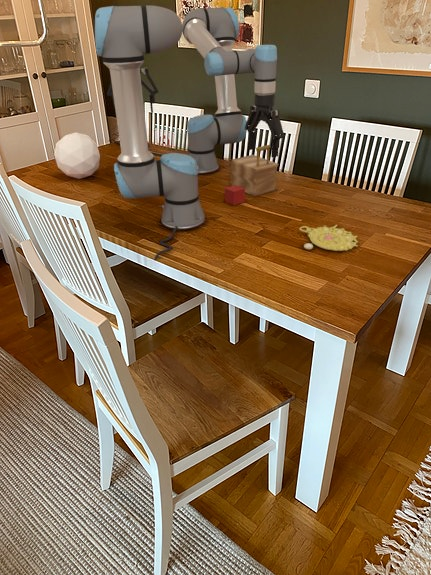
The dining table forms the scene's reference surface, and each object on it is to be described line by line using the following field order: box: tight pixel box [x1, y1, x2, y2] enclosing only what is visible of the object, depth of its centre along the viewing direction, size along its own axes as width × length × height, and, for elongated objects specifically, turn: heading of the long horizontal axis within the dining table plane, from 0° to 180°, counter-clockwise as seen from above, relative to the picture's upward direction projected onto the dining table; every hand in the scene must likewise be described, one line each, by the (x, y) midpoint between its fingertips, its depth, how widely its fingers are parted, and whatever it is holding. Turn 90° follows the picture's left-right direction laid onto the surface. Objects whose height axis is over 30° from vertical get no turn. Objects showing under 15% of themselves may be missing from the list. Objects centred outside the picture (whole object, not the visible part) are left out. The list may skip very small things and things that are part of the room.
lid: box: [230, 144, 279, 172], centre depth 175 cm, size 16×11×8 cm
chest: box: [230, 161, 278, 197], centre depth 181 cm, size 15×11×10 cm
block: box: [224, 185, 246, 206], centre depth 170 cm, size 5×5×5 cm
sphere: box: [53, 131, 101, 180], centre depth 196 cm, size 19×20×20 cm
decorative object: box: [299, 224, 359, 252], centre depth 141 cm, size 21×2×20 cm
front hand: (135, 113), depth 181 cm, fingers open, 13 cm apart
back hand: (263, 153), depth 171 cm, fingers open, 13 cm apart
